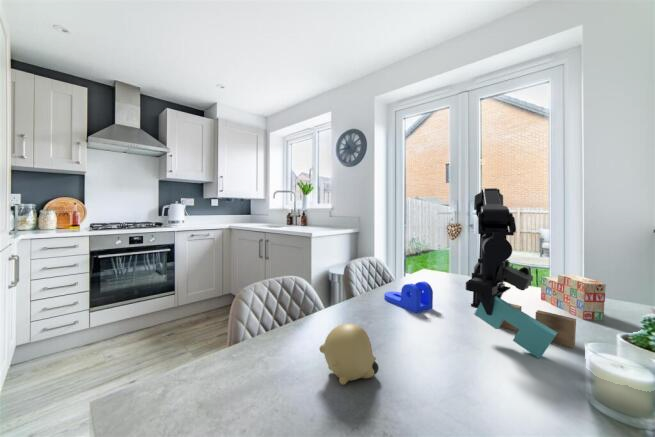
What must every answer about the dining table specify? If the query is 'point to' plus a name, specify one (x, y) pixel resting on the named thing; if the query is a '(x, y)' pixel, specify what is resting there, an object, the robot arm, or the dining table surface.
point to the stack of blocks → (575, 295)
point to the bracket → (412, 297)
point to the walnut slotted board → (553, 326)
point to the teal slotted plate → (519, 326)
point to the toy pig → (349, 353)
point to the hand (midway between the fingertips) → (491, 313)
